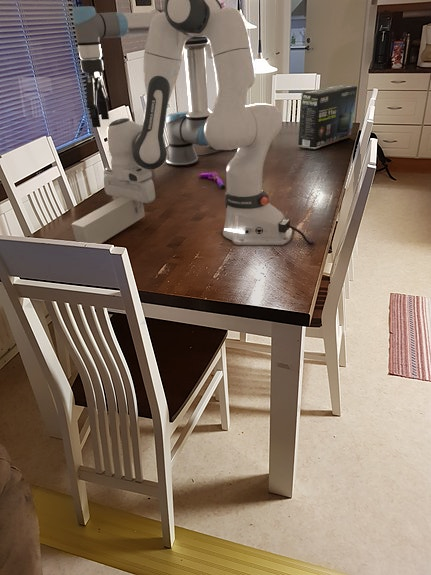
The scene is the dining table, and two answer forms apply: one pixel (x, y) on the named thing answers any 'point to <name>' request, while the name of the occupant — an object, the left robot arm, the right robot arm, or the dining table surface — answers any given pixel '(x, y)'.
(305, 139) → the router box
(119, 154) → the right robot arm
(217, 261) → the dining table surface
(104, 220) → the bar
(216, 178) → the handgun
